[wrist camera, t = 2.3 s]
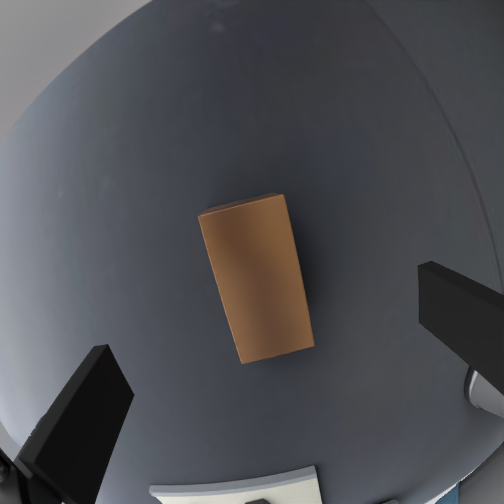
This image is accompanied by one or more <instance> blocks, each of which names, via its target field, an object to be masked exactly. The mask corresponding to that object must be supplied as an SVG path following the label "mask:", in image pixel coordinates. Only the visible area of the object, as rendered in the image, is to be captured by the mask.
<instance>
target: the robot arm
mask: <svg viewBox="0 0 504 504" xmlns="http://www.w3.org/2000/svg"><path fill="white" fill-rule="evenodd" d="M418 281H419V323H420V324H421V325H422V326H424V327H425V328H426V329H427V330H429V331H430V332H431V333H432V334H433V335H435V336H436V337H437V338H438V339H439V340H441V341H442V342H443V343H444V344H445V345H447V346H448V347H449V348H450V349H451V350H452V351H454V352H455V353H456V354H457V355H458V356H459V357H461V358H462V359H463V360H464V361H465V362H466V363H468V364H469V365H470V369H469V372H468V375H467V378H466V382H465V396H466V398H467V399H468V400H469V401H470V402H471V403H472V404H473V405H474V406H475V407H477V408H479V409H482V410H484V409H485V410H487V411H489V412H491V413H493V414H495V415H498V416H500V417H502V418H504V295H502V294H500V293H498V292H496V291H494V290H492V289H490V288H488V287H486V286H484V285H482V284H480V283H478V282H476V281H474V280H472V279H469V278H467V277H465V276H463V275H461V274H459V273H457V272H455V271H453V270H450V269H448V268H446V267H444V266H442V265H440V264H437V263H435V262H433V261H429V262H427V263H424V264H421V265H418ZM133 397H134V393H133V391H132V390H131V388H130V386H129V384H128V382H127V381H126V379H125V377H124V375H123V373H122V371H121V369H120V367H119V365H118V363H117V361H116V359H115V357H114V355H113V353H112V351H111V349H110V347H109V345H108V344H106V345H100V346H94V347H93V348H92V350H91V351H90V352H89V354H88V355H87V356H86V358H85V359H84V360H83V362H82V363H81V364H80V366H79V367H78V368H77V370H76V371H75V373H74V374H73V375H72V377H71V378H70V380H69V381H68V382H67V384H66V385H65V387H64V388H63V389H62V391H61V392H60V394H59V395H58V397H57V398H56V399H55V401H54V402H53V404H52V405H51V407H50V408H49V410H48V411H47V413H46V414H45V415H44V416H43V417H41V419H40V420H39V422H38V423H37V425H36V426H35V427H36V429H34V430H33V431H32V433H31V436H29V437H28V439H27V440H26V442H25V444H24V445H23V447H22V448H21V450H20V452H19V453H18V455H17V457H16V458H15V460H14V462H12V461H11V460H10V458H9V457H8V456H7V455H6V454H5V453H4V452H3V451H2V449H1V448H0V504H61V503H62V502H64V503H65V504H95V501H96V498H97V495H98V492H99V489H100V486H101V483H102V480H103V477H104V475H105V472H106V469H107V466H108V463H109V460H110V458H111V455H112V452H113V449H114V447H115V444H116V441H117V438H118V436H119V433H120V430H121V428H122V425H123V423H124V420H125V417H126V415H127V412H128V410H129V407H130V405H131V402H132V400H133ZM435 504H504V442H503V443H502V444H501V445H500V446H499V447H498V448H497V449H496V450H495V451H494V452H493V453H492V454H491V455H490V456H489V457H488V458H487V459H486V460H485V461H484V462H483V463H482V464H481V465H480V466H479V467H477V468H476V469H475V470H474V471H473V472H472V473H471V474H469V475H468V476H467V477H466V478H465V479H463V480H462V481H460V482H458V483H457V484H456V486H455V487H454V488H453V489H452V490H451V491H449V492H448V493H447V494H445V495H444V496H443V497H442V498H440V499H439V500H438V501H437V502H436V503H435Z"/></svg>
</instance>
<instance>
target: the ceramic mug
mask: <svg viewBox="0 0 504 504" xmlns="http://www.w3.org/2000/svg"><path fill="white" fill-rule="evenodd" d="M382 504H400V503H399V501H397V500H396V499H393V500H390V501H387V502H385V503H382Z"/></svg>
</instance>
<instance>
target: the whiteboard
mask: <svg viewBox="0 0 504 504" xmlns="http://www.w3.org/2000/svg"><path fill="white" fill-rule="evenodd" d="M149 493H150V494H151V495H152V496H156V497H157V498H158V499H159V500H160V501H161V502H162V503H163V504H245V503H246V502H250V501H254V500H258V499H261V498H263V499H265V500H266V501H268V502H269V503H271V504H322V500H321V495H320V490H319V485H318V480H317V474H316V470H315V467H314V466H310V467H306V468H302V469H298V470H294V471H290V472H285V473H280V474H275V475H270V476H265V477H259V478H253V479H246V480H239V481H231V482H221V483H210V484H195V485H150V489H149Z"/></svg>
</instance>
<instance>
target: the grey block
mask: <svg viewBox="0 0 504 504" xmlns="http://www.w3.org/2000/svg"><path fill="white" fill-rule="evenodd" d="M245 504H271V503H269V502H268V501H266V500H265V499H263V498H261V499H258V500H254V501H250V502H246V503H245Z"/></svg>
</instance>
